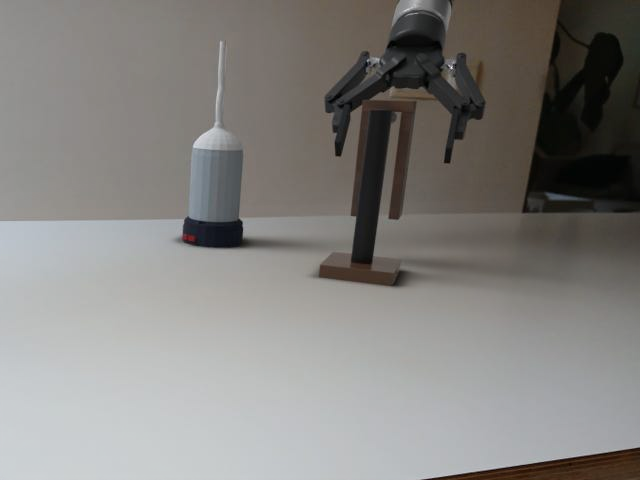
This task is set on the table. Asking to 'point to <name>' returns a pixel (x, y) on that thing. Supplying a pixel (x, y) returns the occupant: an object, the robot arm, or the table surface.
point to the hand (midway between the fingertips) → (391, 153)
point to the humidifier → (215, 181)
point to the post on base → (367, 214)
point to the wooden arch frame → (401, 154)
